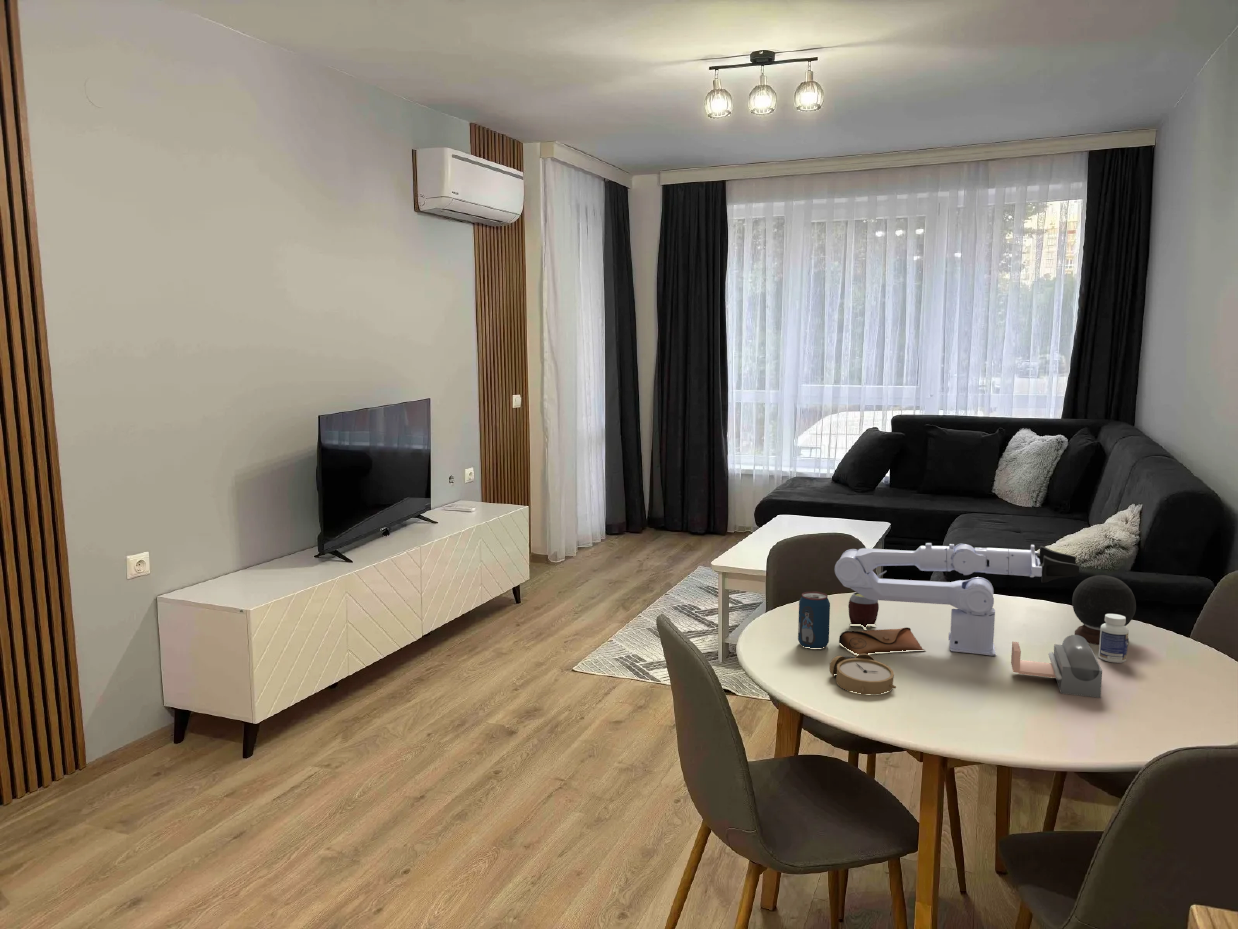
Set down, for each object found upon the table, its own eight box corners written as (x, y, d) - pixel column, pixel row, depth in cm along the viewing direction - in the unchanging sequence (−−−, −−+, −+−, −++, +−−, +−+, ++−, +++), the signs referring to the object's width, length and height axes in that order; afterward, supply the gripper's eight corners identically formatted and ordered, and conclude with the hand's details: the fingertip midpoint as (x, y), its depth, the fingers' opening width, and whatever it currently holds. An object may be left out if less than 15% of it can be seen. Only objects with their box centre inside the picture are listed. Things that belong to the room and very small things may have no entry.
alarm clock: (854, 685, 174) (820, 647, 188) (851, 707, 176) (817, 668, 190) (905, 680, 177) (868, 643, 191) (902, 701, 179) (865, 663, 193)
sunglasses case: (855, 657, 198) (849, 627, 200) (842, 663, 204) (836, 634, 207) (929, 651, 201) (922, 622, 204) (914, 657, 208) (907, 629, 210)
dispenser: (1055, 692, 178) (1057, 653, 177) (1047, 668, 191) (1049, 632, 190) (1100, 697, 175) (1103, 658, 174) (1089, 673, 188) (1092, 636, 187)
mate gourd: (845, 621, 223) (847, 562, 221) (877, 622, 222) (880, 563, 220) (851, 631, 215) (853, 570, 213) (884, 631, 215) (887, 570, 213)
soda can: (826, 641, 208) (828, 591, 207) (830, 651, 202) (832, 599, 200) (796, 640, 209) (797, 590, 207) (799, 650, 202) (800, 598, 201)
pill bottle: (1130, 664, 193) (1133, 620, 192) (1102, 662, 194) (1106, 619, 193) (1121, 655, 198) (1124, 613, 197) (1095, 654, 200) (1098, 612, 198)
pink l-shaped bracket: (1013, 673, 183) (1014, 651, 183) (1010, 661, 190) (1012, 640, 189) (1089, 681, 179) (1091, 659, 178) (1084, 669, 185) (1086, 648, 185)
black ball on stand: (1146, 645, 206) (1152, 581, 204) (1098, 649, 202) (1103, 585, 200) (1103, 627, 218) (1107, 567, 216) (1057, 631, 215) (1061, 570, 213)
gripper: (1009, 551, 191) (1081, 555, 186) (1008, 536, 204) (1075, 540, 199) (1008, 583, 192) (1079, 588, 187) (1007, 567, 205) (1073, 571, 200)
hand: (1077, 565), depth 193 cm, fingers open, 7 cm apart
